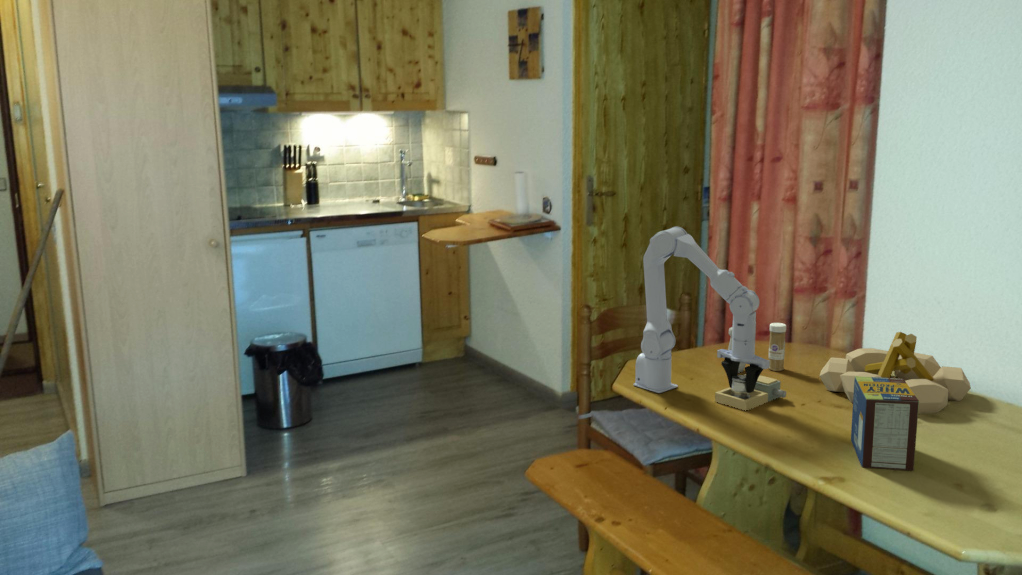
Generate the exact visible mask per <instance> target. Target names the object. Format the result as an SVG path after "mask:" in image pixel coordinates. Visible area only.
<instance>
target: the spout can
mask: <svg viewBox="0 0 1022 575" xmlns="http://www.w3.org/2000/svg"><path fill="white" fill-rule="evenodd" d="M731 396H734V397H738V398H741V399H744V400H746V399H749V398H750V393H747V378H746V375H745V374H743V375H742V374H738V375H734V376H732V391H731Z"/></svg>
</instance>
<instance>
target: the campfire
mask: <svg viewBox="0 0 1022 575" xmlns="http://www.w3.org/2000/svg"><path fill="white" fill-rule="evenodd" d="M917 338H918V337H917V336H916V335H915V334H913V333H910V334H906V333H904V332H902V331H897V332H896V333H895V335H894V338H893V339H892V341H891V344H890V346H889V348H888V350H886V349H885V350H884V349H877V348H874V347H870V348H869V347H868V348H857V349H854V350H853V351H850V352H848V353H846V354H845V358H844V357H843V358H841V357H830V358H829V360H828V361H827V362H826V363H825V365H824V366H823V367H822V368H821V370H820V373H819V378H820V379H821V382H822V383H823V385H824V387H825V389H826V390H828V391H831V392H836V393H837V392H838V393H845V395H846V397H847V399H848V400H849V402H850V403H852V404H853V396H854V380H855V376H861V377H882V378H891V376H892V374H893V372H894V376H896V378H903V379H904V380H905V382H906V383H907V384H908V386H909V387H910V389H911V390H912V392H913V393H914V394H915V396H916V397H917V399H918V400H919V409H918V415H919V414H938V413H939V412H940V411H942V410H943V409H944V408H946V407H947V406H948V401H957V402H959V401H961V400H963V399H964V397H965V396H967V394H968V392H969V391H970V390H971V389H972V388H971V383H970V381H969V380H968V378H967V376H966V373H965V372H964V370H963V369H962V367H955V366H944V365H943V366H941V365H940V364H939V362H938V361H937V360H936V358H935V357H934V356H933V355H931V354H925V353H919V352H915V350H916V346H917Z"/></svg>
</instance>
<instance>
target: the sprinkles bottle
mask: <svg viewBox="0 0 1022 575" xmlns="http://www.w3.org/2000/svg"><path fill="white" fill-rule="evenodd" d="M786 332H787V324H785V323H782V322H771V323H770V324H769V344H768V360H770V366H769V368H767V369H768V370H771V371H774V372H780V371H783V370H785V366H784V365H785V354H786V352H785V350H786Z"/></svg>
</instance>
